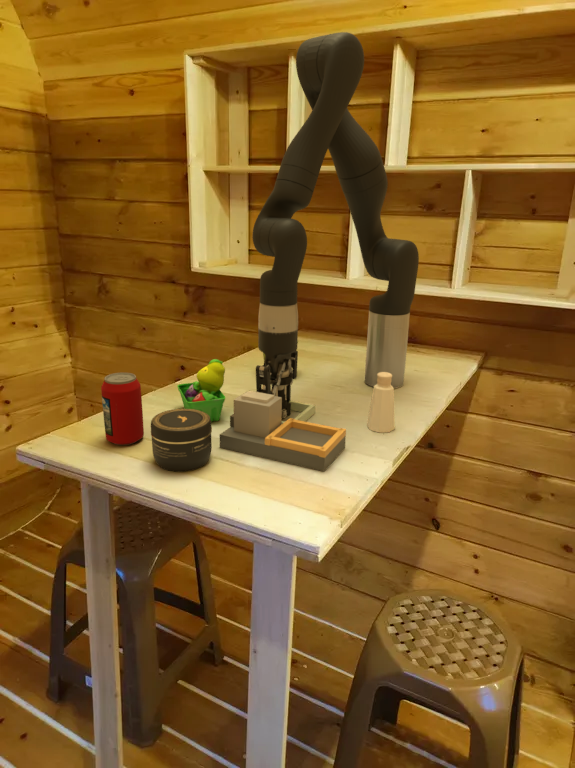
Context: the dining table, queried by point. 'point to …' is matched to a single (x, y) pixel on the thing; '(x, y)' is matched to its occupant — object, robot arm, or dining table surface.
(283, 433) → the gray stepped base block
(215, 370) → the fruit basket
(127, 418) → the beverage can
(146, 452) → the dining table surface
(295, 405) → the parts tray
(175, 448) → the jar
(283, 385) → the black and tan cylinder
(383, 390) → the pepper shaker
